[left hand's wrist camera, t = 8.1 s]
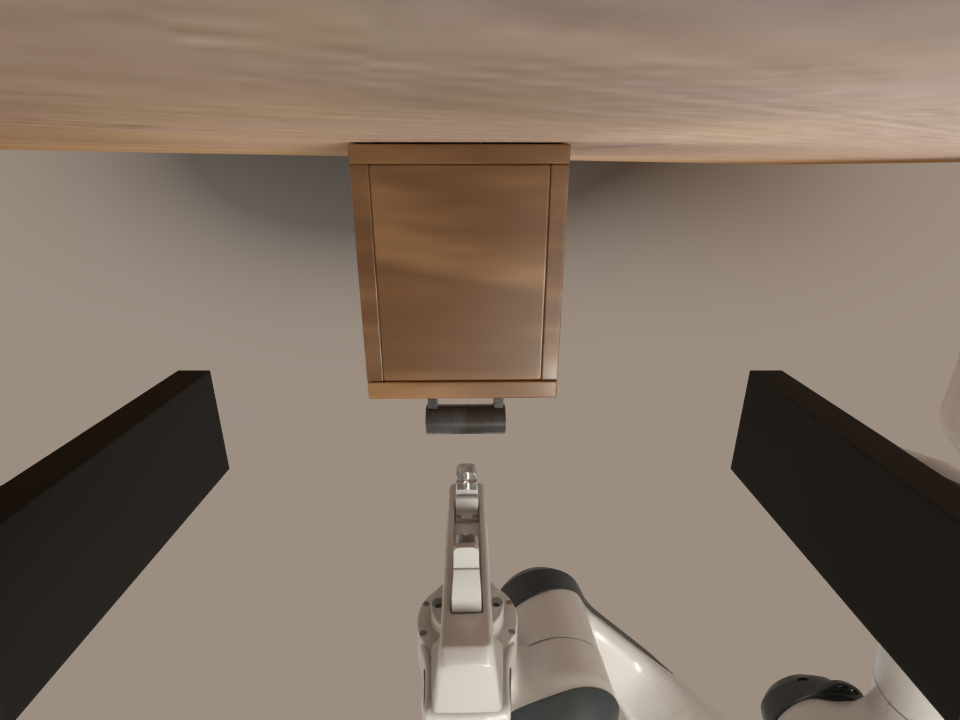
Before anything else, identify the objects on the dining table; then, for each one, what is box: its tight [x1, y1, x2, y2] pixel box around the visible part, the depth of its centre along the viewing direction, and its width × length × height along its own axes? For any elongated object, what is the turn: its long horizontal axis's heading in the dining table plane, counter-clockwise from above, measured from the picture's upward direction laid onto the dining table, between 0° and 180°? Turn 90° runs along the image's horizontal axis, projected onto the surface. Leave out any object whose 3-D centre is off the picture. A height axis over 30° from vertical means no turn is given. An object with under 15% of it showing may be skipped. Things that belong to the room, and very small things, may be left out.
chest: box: [348, 144, 571, 381], centre depth 28 cm, size 13×9×10 cm
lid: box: [368, 379, 557, 434], centre depth 32 cm, size 14×9×9 cm, turn 179°
